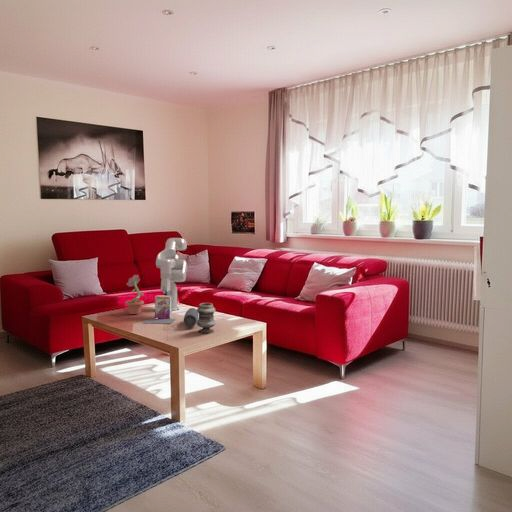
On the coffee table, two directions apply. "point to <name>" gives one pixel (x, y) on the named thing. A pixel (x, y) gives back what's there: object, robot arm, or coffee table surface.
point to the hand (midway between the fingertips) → (166, 300)
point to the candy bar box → (163, 307)
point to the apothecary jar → (206, 317)
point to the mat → (159, 321)
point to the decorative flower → (135, 304)
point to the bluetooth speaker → (191, 317)
